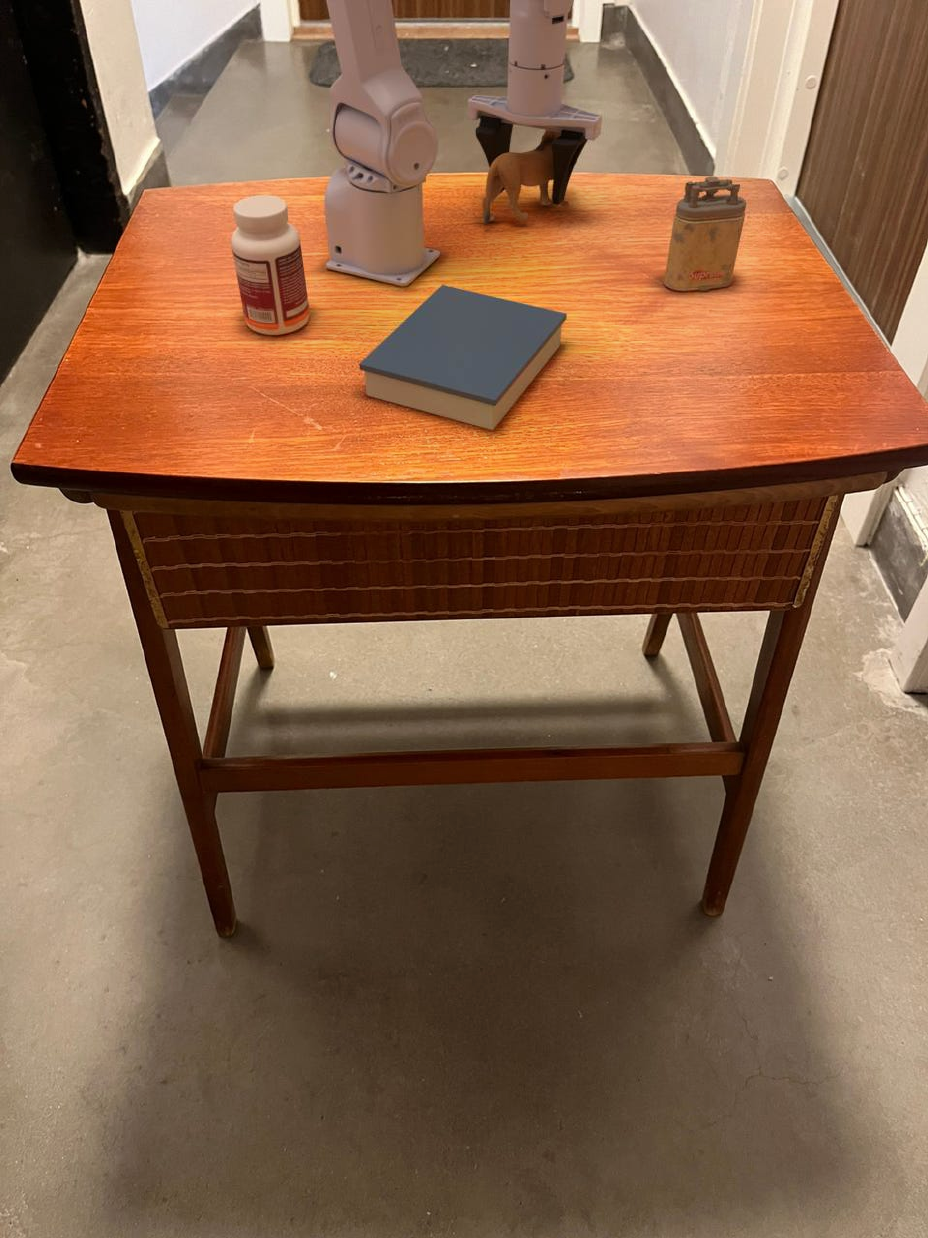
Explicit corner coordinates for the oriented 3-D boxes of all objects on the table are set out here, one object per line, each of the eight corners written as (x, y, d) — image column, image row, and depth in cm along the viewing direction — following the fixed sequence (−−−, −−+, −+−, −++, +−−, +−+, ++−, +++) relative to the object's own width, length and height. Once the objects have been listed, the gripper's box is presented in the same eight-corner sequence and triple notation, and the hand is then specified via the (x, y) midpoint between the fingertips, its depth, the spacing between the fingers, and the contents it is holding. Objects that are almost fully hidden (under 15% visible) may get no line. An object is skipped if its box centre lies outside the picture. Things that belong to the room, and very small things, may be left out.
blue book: (361, 396, 85) (358, 363, 82) (442, 315, 94) (442, 284, 92) (494, 433, 81) (495, 400, 78) (564, 345, 91) (567, 313, 88)
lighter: (723, 271, 101) (743, 171, 94) (738, 288, 98) (760, 187, 91) (658, 277, 100) (673, 177, 93) (671, 295, 97) (687, 193, 90)
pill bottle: (301, 300, 96) (287, 186, 89) (317, 330, 92) (303, 214, 84) (239, 311, 95) (218, 196, 87) (252, 342, 91) (232, 224, 83)
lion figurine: (559, 193, 115) (555, 108, 110) (593, 198, 112) (591, 111, 107) (468, 226, 108) (459, 137, 103) (502, 232, 105) (495, 141, 99)
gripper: (617, 59, 100) (603, 193, 110) (488, 40, 104) (485, 171, 114) (592, 79, 96) (580, 218, 105) (459, 59, 100) (459, 193, 110)
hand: (529, 195), depth 109 cm, fingers open, 6 cm apart
